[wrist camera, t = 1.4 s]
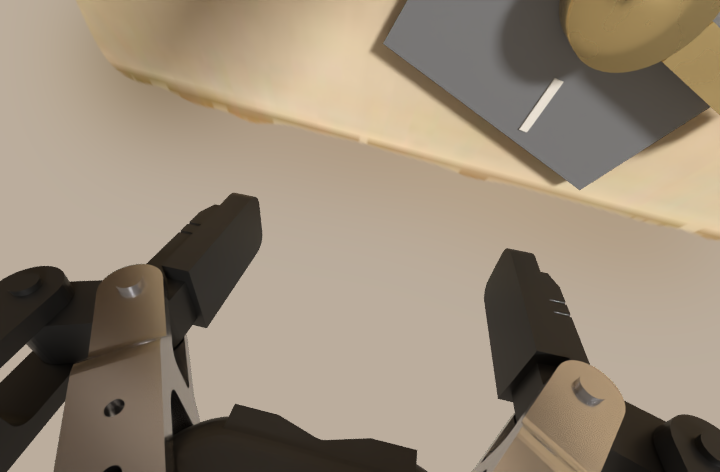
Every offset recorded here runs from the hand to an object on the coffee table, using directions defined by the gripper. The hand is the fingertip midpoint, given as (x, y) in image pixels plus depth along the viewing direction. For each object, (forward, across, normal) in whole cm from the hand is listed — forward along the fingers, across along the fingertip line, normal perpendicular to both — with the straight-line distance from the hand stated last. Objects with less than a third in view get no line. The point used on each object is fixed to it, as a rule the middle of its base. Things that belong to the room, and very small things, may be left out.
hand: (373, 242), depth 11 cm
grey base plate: (+22, -12, -8) cm, 26 cm away
